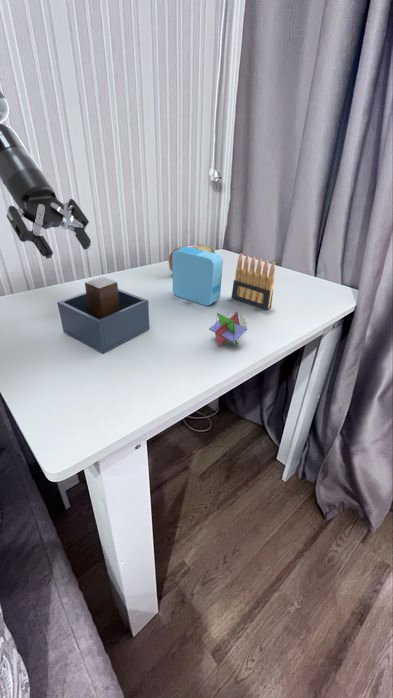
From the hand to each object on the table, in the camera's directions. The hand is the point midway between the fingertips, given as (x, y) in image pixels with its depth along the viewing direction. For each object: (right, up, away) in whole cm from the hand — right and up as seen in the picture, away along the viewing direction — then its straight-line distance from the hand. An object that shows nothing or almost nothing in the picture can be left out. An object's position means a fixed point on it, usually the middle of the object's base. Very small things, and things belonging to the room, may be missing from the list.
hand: (70, 251), depth 65 cm
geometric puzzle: (+31, -18, +3) cm, 36 cm away
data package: (+25, -6, +21) cm, 33 cm away
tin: (+23, +4, +36) cm, 43 cm away
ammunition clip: (+39, -8, +19) cm, 44 cm away
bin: (+6, -15, +5) cm, 17 cm away
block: (+6, -15, +4) cm, 16 cm away
